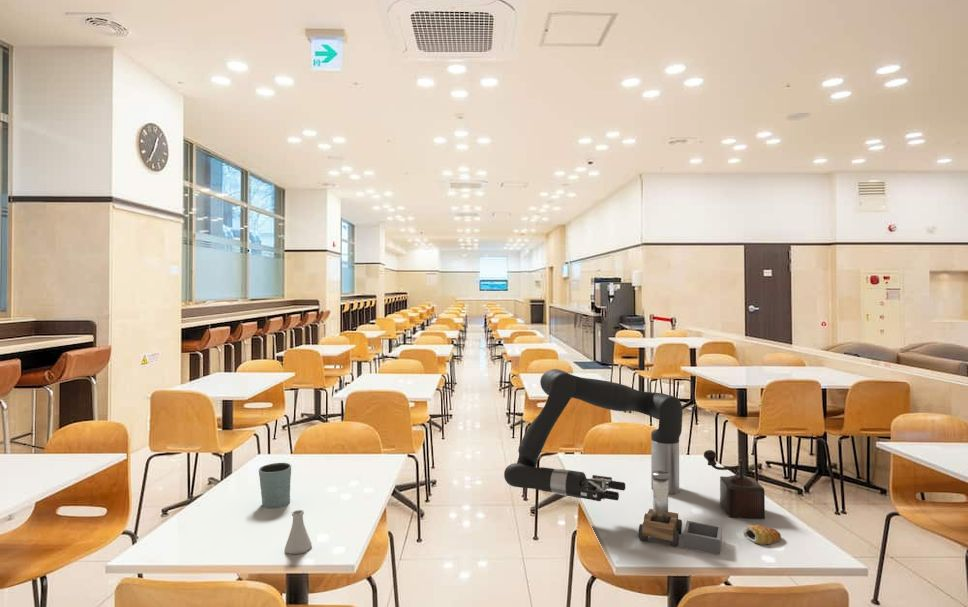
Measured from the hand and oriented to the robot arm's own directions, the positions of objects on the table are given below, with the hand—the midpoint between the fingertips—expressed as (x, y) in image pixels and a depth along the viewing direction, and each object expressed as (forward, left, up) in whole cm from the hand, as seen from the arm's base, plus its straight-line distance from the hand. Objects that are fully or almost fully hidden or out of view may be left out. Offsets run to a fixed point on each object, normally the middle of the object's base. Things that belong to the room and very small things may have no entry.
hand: (621, 491), depth 154 cm
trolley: (-1, +11, -11) cm, 15 cm away
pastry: (-11, +36, -12) cm, 39 cm away
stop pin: (0, +11, -8) cm, 14 cm away
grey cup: (+30, -107, -11) cm, 112 cm away
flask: (+50, -76, -11) cm, 92 cm away
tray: (0, +22, -11) cm, 24 cm away
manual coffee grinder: (-28, +28, -11) cm, 42 cm away
